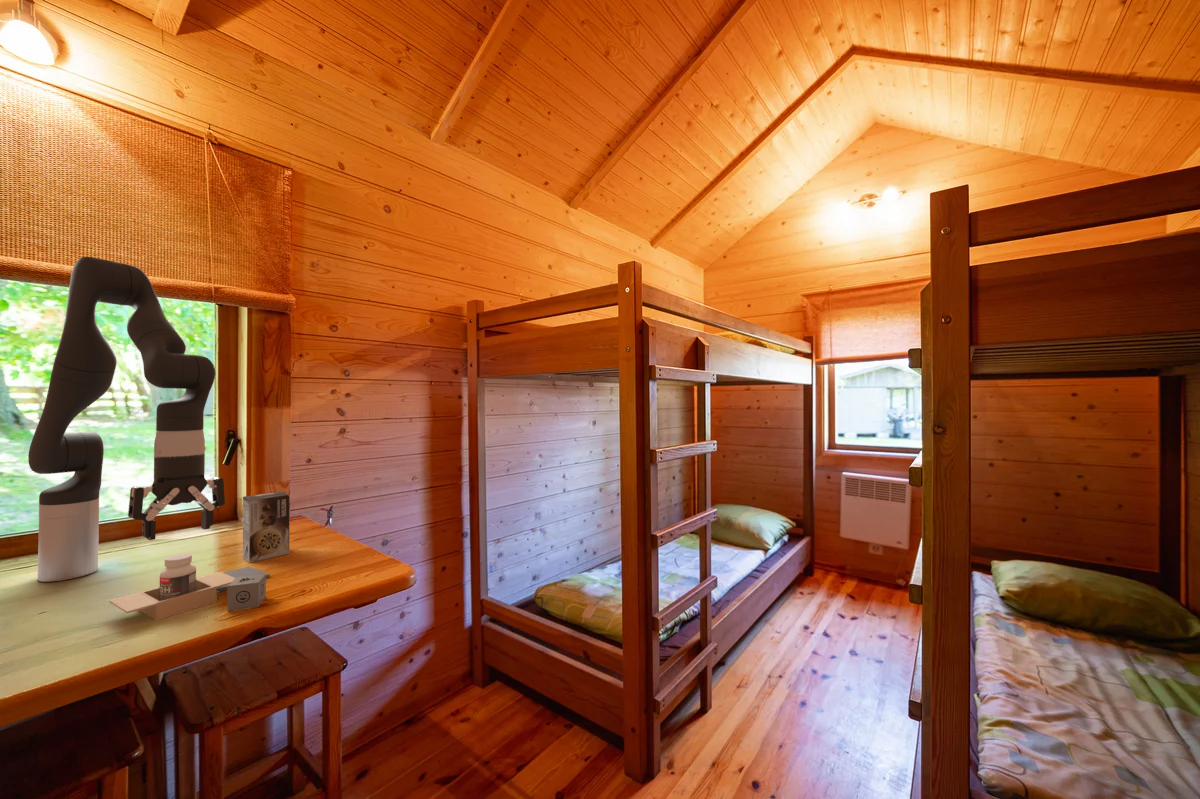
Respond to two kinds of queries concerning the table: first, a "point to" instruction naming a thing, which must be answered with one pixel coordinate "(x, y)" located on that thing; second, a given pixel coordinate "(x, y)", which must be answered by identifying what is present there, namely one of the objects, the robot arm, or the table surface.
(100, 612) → the table surface
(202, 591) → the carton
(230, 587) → the dice cube
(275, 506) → the coffee box
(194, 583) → the pill bottle
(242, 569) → the mat
